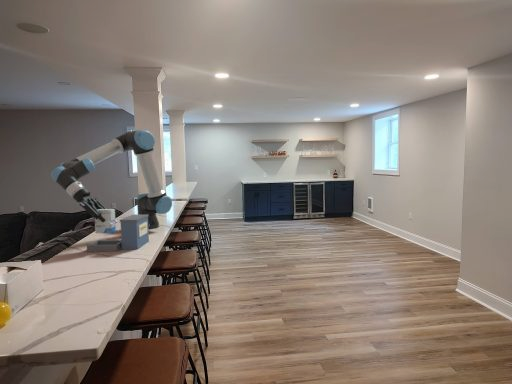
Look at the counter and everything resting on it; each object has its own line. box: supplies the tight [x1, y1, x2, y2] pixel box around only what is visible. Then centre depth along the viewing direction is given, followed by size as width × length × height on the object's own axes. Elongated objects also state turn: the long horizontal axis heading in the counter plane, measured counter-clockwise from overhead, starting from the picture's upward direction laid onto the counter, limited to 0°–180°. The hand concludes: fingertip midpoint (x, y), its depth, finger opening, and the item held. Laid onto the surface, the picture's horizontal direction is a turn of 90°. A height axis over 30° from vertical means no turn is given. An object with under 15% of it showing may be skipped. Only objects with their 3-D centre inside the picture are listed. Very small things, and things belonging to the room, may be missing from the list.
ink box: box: [94, 208, 117, 234], centre depth 160 cm, size 8×5×12 cm, turn 88°
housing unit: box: [119, 214, 150, 250], centre depth 166 cm, size 17×9×15 cm, turn 179°
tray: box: [86, 239, 122, 252], centre depth 161 cm, size 11×15×3 cm
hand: (112, 224), depth 160 cm, fingers closed on ink box, 5 cm apart
